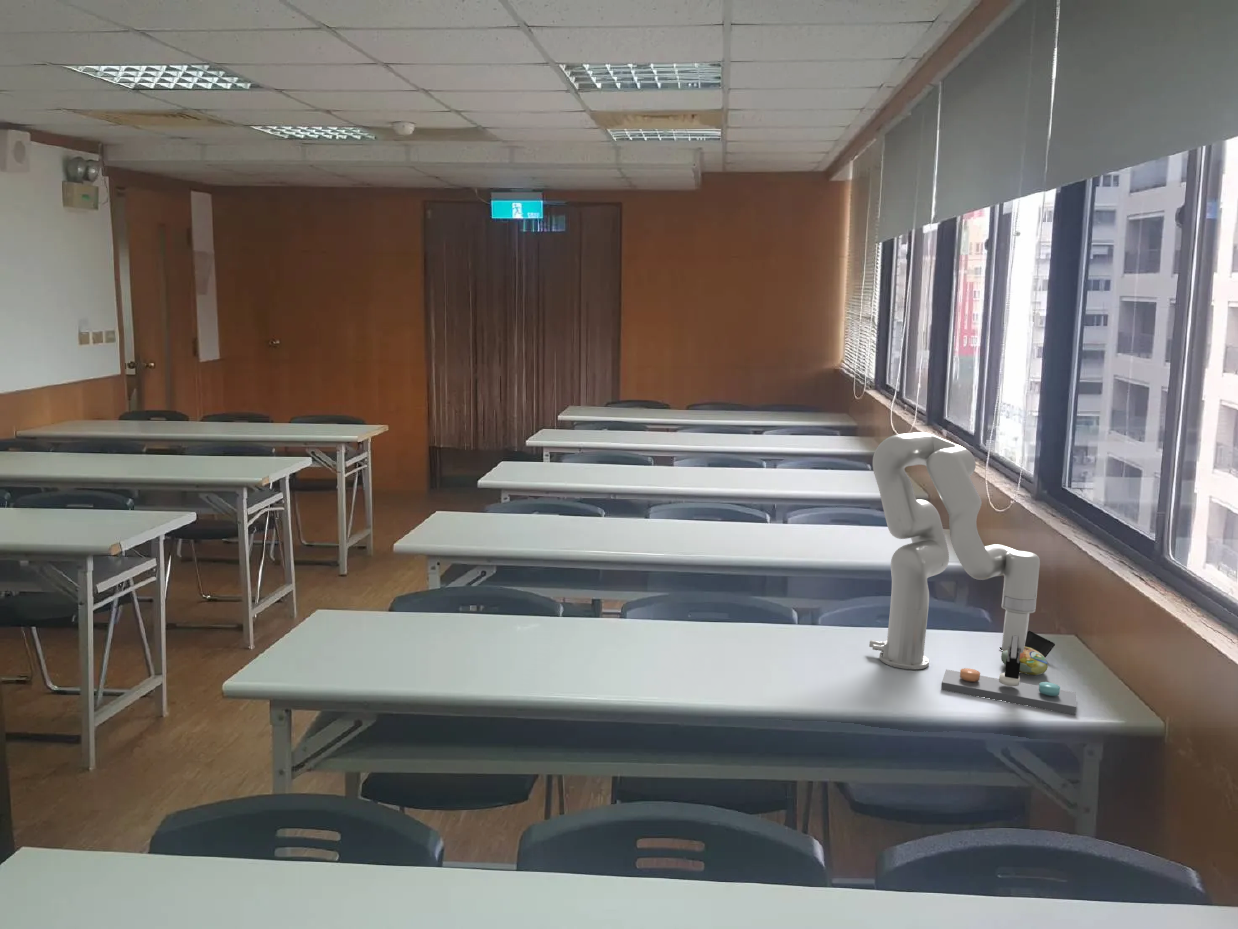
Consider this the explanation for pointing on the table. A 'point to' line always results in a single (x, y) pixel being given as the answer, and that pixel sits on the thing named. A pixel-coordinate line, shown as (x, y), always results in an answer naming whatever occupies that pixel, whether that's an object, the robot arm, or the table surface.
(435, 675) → the table surface
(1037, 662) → the cell model
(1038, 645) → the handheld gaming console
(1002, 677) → the button ivory
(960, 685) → the button panel
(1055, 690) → the button teal
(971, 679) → the button terracotta
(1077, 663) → the table surface
